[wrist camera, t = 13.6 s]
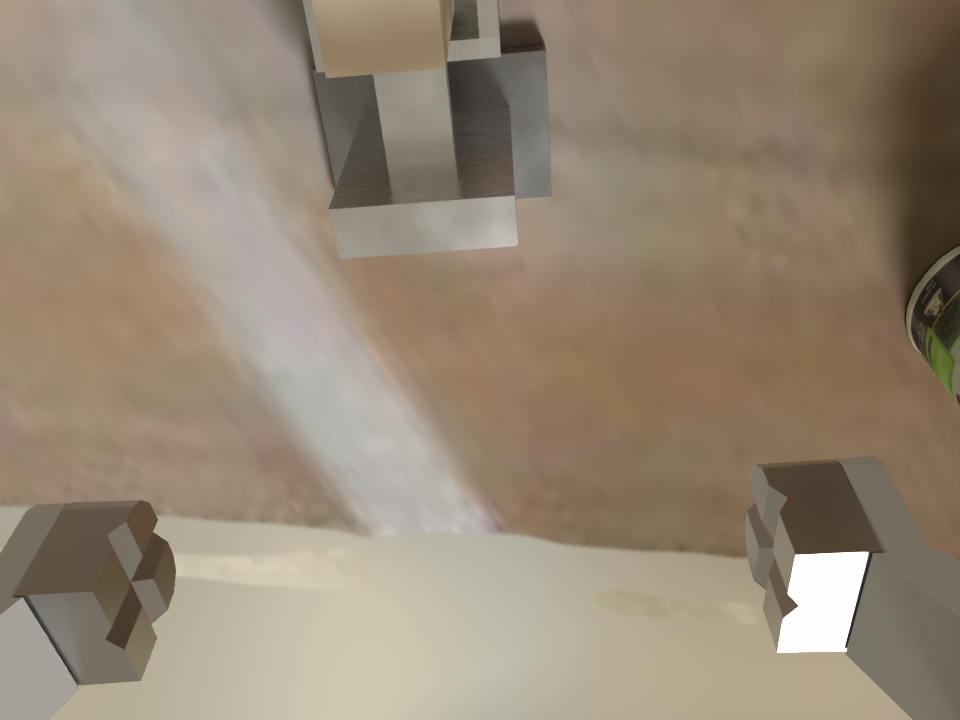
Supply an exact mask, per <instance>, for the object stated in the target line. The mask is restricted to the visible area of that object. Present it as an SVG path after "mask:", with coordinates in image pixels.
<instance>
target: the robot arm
mask: <svg viewBox="0 0 960 720" xmlns="http://www.w3.org/2000/svg"><path fill="white" fill-rule="evenodd" d="M750 487H751V490H752V493H753V496H754V499H755V503H754V504H753V505H752V506H751V507H750V508H749V509H748V510H747V514H746V524H745V537H746V551H747V555H748V560H749V565H750V568H751V571H752V575H753V578H754V581H755V582H757V583H758V584H759V585H760V586H762V587H763V588H764V589H765V590H766V594H765V600H764V607H763V610H764V613H765V616H766V619H767V622H768V625H769V628H770V631H771V634H772V637H773V640H774V643H775V646H776V649H777V652H809V651H810V652H813V651H846V655H847V656H848V657H849V658H850V659H851V660H852V661H853V662H854V663H855V664H856V665H857V666H858V667H859V668H860V669H861V670H862V671H863V672H865V674H867V675H868V676H869V677H870V678H871V679H872V680H873V681H874V682H875V683H876V684H877V685H878V686H879V687H880V688H881V689H882V690H883V691H884V692H885V693H886V694H887V695H888V696H889V697H890V698H891V699H892V700H893V701H894V702H895V703H896V704H898V705H899V706H900V708H902V709H903V710H904V711H905V712H906V713H907V714H908V715H909V716H910V717H911V718H912V719H913V720H960V561H959V560H958V559H956V558H955V557H953V556H951V555H950V554H948V553H947V552H945V551H944V550H930V548H929V546H928V545H927V543H926V541H925V539H924V537H923V536H922V534H921V532H920V530H919V529H918V527H917V525H916V523H915V521H914V520H913V518H912V516H911V514H910V513H909V511H908V509H907V507H906V505H905V504H904V502H903V500H902V498H901V497H900V495H899V493H898V491H897V489H896V488H895V486H894V484H893V482H892V481H891V479H890V477H889V475H888V473H887V472H886V470H885V468H884V466H883V465H882V463H881V461H880V460H878V459H877V458H876V457H874V456H869V457H855V458H841V459H834V460H815V461H800V462H785V463H770V464H756V465H755V467H754V470H753V472H752V477H751V484H750ZM157 521H158V519H157V517H156V515H155V513H154V511H153V509H152V507H151V505H150V503H149V502H145V501H141V500H134V501H104V502H74V503H70V504H37V505H35V506H34V507H32V508H31V509H29V510H28V511H26V513H25V514H24V516H23V517H22V519H21V521H20V522H19V524H18V526H17V527H16V529H15V530H14V532H13V534H12V535H11V537H10V538H9V540H8V542H7V544H6V545H5V547H4V548H3V550H2V551H1V553H0V720H50V719H51V717H52V716H54V714H55V713H56V712H57V711H58V710H59V709H60V708H61V707H62V706H63V705H64V704H65V703H66V702H67V701H68V700H69V699H70V698H71V697H72V696H73V695H74V693H75V692H76V691H77V690H78V689H79V687H78V686H77V685H90V684H104V683H116V682H131V681H141V679H142V676H143V674H144V671H145V669H146V666H147V663H148V661H149V658H150V655H151V653H152V650H153V648H154V645H155V642H156V640H157V636H156V634H155V632H154V630H153V628H152V625H151V624H152V623H153V622H155V621H156V620H157V619H158V618H159V617H160V616H161V615H162V614H164V613H165V612H166V611H167V610H168V607H169V604H170V602H171V598H172V596H173V593H174V586H175V575H176V568H175V563H174V557H173V553H172V551H171V548H170V546H169V544H168V542H167V541H165V540H164V539H162V538H161V537H159V536H158V535H157V534H155V533H153V530H154V528H155V526H156V523H157Z"/></svg>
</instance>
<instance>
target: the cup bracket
mask: <svg viewBox="0 0 960 720" xmlns="http://www.w3.org/2000/svg"><path fill="white" fill-rule="evenodd" d="M303 5H304V10H305V15H306V20H307V25H308V31H309V36H310V41H311V46H312V51H313V56H314V61H315V66H314V68H313V70H312V72H313V77H314V82H315V87H316V92H317V97H318V102H319V107H320V112H321V117H322V122H323V127H324V132H325V137H326V142H327V147H328V152H329V157H330V162H331V167H332V172H333V177H334V182H335V187H336V189H335V192H334V195H333V198H332V201H331V204H330V206H329V209H328V210H329V215H330V220H331V225H332V229H333V234H334V239H335V244H336V249H337V253H338V258H339V259H342V258H356V257H370V256H384V255H398V254H411V253H425V252H439V251H453V250H467V249H481V248H495V247H509V246H518V234H517V216H516V199H520V198H533V197H547V196H552V192H551V167H550V142H549V117H548V92H547V67H546V48H545V44H535V45H524V46H512V47H500V19H499V4H498V0H455V7H454V14H453V22H452V29H451V36H450V43H449V51H448V58H447V65H446V68H444V69H431V70H419V71H407V72H395V73H383V74H371V75H359V76H347V77H335V78H326V75H325V70H324V65H323V60H322V54H321V49H320V44H319V38H318V33H317V28H316V23H315V17H314V12H313V7H312V1H311V0H303Z"/></svg>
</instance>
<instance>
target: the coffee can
mask: <svg viewBox="0 0 960 720" xmlns="http://www.w3.org/2000/svg"><path fill="white" fill-rule="evenodd" d="M906 326H907V332H908V336H909V338H910V340H911V342H912V344H913V345H914V347H915V348H916V349H917V350H918V352H920V353H921V354H922V355H923V357H924V358H925V360H926V361H927V363H928V364H929V365H930V367H931V368H932V370H933V371H934V372H935V374H936V375H937V376H938V378H939V379H940V380H941V382H942V383H943V385H944V386H945V387H946V389H947V390H948V392H949V393H950V394H951V396H952V397H953V399H954V400H955V401H956V403H957V404H958V406H959V407H960V246H958V247H956V248H954V249H953V250H951V251H950V252H948V253H947V254H946V255H944V256H943V257H941V258H940V259H939V260H938V261H937V262H936V263H935V264H934V265H933V266H932V267H931V268H930V269H929V270H928V271H927V272H926V273H925V275H924V276H923V277H922V279H921V280H920V281H919V283H918V284H917V286H916V287H915V289H914V291H913V293H912V296H911V298H910V301H909V304H908V307H907V314H906Z"/></svg>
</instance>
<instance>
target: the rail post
mask: <svg viewBox="0 0 960 720" xmlns="http://www.w3.org/2000/svg"><path fill="white" fill-rule="evenodd" d="M311 1H312V7H313V12H314V17H315V23H316V28H317V33H318V38H319V44H320V49H321V54H322V60H323V65H324V70H325V75H326V78H335V77H347V76H359V75H371V74H383V73H395V72H407V71H419V70H431V69H444V68H446V65H447V58H448V51H449V43H450V36H451V29H452V22H453V14H454V7H455V0H311Z"/></svg>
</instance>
